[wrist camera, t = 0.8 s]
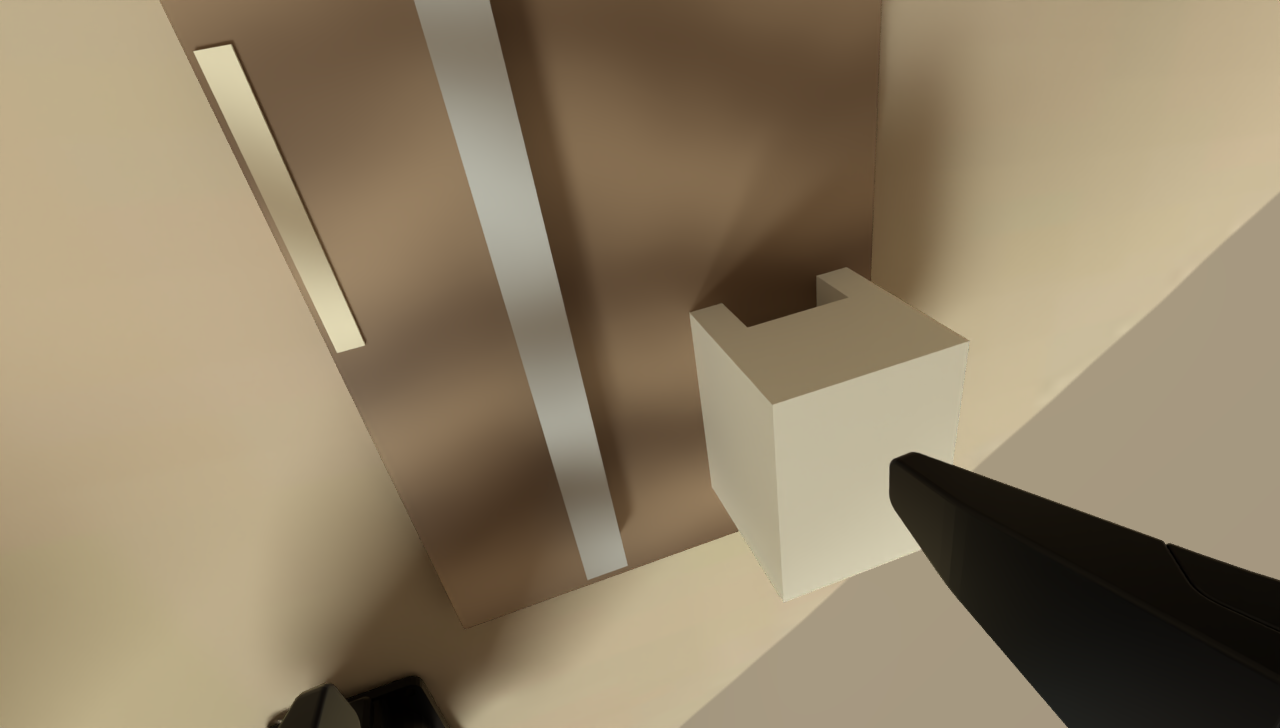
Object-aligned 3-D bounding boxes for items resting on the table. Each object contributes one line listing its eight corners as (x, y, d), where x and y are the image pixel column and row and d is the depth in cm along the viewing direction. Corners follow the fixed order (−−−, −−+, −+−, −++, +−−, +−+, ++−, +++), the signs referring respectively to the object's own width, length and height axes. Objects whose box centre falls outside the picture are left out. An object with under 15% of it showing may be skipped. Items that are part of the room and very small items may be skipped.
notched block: (843, 441, 27) (942, 541, 22) (711, 486, 26) (783, 603, 21) (846, 267, 22) (969, 341, 17) (689, 312, 21) (772, 404, 16)
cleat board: (847, 470, 29) (882, 508, 27) (462, 605, 26) (466, 661, 24) (862, -207, 17) (931, -241, 15) (127, -103, 14) (71, -124, 11)
